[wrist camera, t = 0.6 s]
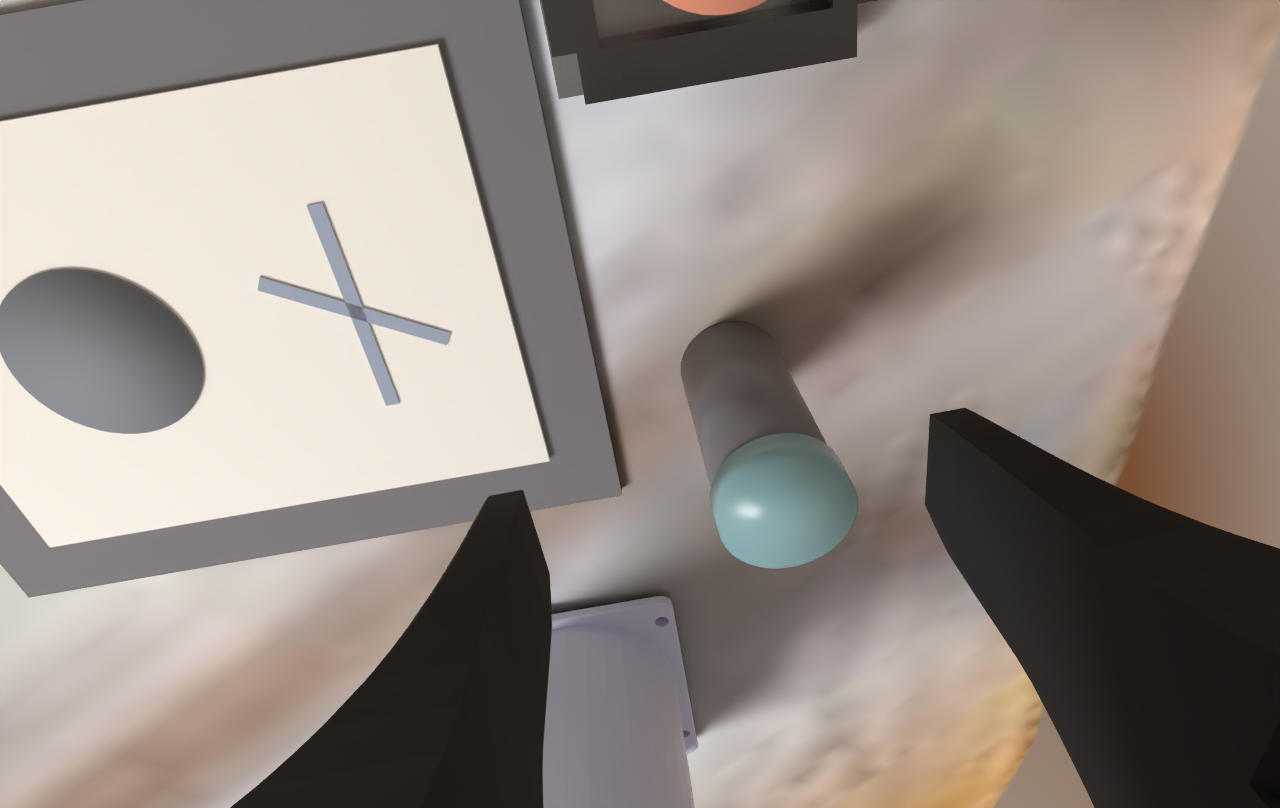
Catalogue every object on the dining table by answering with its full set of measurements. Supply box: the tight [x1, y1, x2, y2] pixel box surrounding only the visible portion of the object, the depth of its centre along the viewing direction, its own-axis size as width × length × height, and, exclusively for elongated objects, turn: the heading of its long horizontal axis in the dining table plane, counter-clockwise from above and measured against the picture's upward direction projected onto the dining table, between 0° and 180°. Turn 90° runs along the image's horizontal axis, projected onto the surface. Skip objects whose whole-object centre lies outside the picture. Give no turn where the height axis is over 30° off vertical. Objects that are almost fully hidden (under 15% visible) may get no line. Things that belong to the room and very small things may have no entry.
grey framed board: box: [0, 0, 622, 597], centre depth 20 cm, size 16×20×1 cm
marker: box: [681, 321, 858, 569], centre depth 20 cm, size 3×3×7 cm
